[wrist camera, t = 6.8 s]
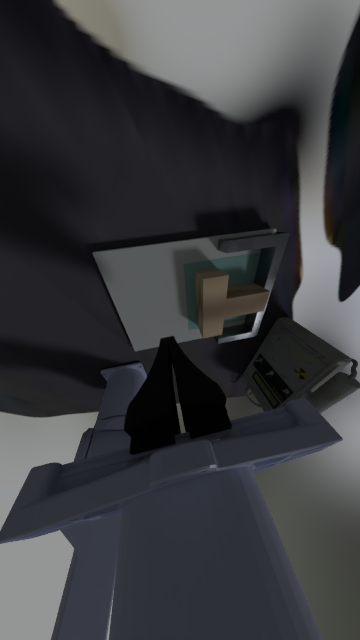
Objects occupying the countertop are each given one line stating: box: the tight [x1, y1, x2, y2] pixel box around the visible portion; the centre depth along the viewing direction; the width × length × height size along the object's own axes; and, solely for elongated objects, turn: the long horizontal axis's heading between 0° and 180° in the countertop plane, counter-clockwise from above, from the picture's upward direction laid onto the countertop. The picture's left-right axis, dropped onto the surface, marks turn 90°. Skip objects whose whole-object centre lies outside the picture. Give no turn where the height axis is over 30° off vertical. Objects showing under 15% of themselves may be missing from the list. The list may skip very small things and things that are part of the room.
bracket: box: [214, 232, 290, 344], centre depth 20 cm, size 15×7×2 cm, turn 6°
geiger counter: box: [242, 317, 360, 413], centre depth 28 cm, size 14×6×25 cm
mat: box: [92, 229, 277, 351], centre depth 21 cm, size 16×22×1 cm
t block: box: [195, 268, 270, 338], centre depth 19 cm, size 9×9×4 cm
